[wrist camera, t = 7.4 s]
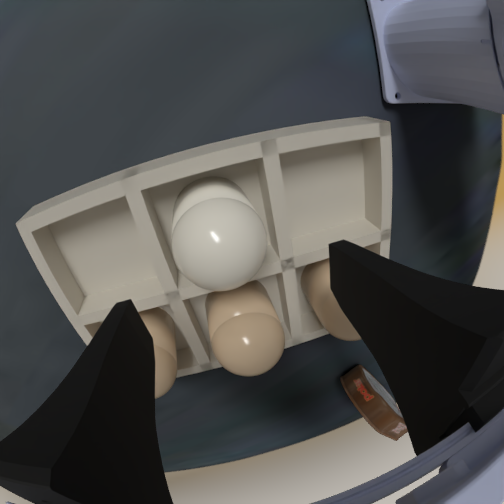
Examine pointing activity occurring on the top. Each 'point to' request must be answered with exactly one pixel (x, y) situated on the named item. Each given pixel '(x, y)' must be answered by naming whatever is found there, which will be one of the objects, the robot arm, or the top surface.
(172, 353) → the brown egg
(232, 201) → the cream egg
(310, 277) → the brown egg
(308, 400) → the top surface
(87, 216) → the egg carton
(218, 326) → the brown egg middle
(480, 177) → the top surface
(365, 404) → the tin
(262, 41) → the top surface
